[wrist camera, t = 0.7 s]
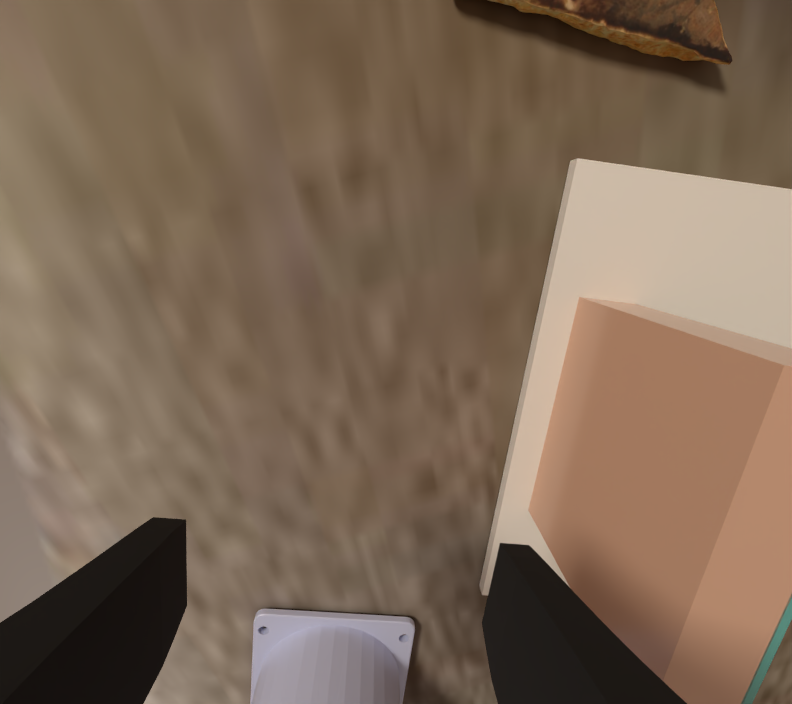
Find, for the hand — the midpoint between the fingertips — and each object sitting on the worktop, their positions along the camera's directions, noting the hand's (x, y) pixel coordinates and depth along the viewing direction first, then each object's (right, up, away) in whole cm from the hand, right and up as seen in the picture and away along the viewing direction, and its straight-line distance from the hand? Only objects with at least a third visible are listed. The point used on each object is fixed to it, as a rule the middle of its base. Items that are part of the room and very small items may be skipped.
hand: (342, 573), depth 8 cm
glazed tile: (+9, +2, +10) cm, 14 cm away
